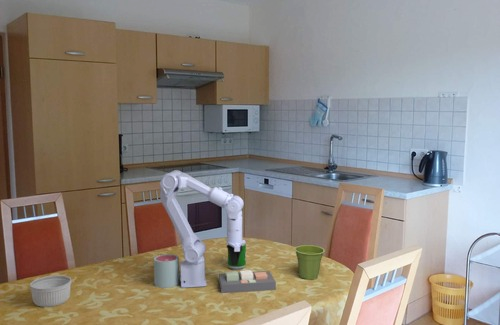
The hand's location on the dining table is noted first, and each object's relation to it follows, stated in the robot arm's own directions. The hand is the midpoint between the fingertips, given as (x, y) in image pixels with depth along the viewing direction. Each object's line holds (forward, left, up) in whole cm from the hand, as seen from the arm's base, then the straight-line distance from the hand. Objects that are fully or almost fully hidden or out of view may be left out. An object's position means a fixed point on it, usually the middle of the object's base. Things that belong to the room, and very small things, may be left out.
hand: (234, 264), depth 172 cm
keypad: (+5, 0, -8) cm, 9 cm away
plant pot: (+31, +5, -9) cm, 32 cm away
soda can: (+4, +20, -9) cm, 22 cm away
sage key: (-1, 0, -7) cm, 7 cm away
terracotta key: (+10, 0, -8) cm, 13 cm away
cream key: (+5, 0, -7) cm, 8 cm away
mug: (-24, +9, -9) cm, 27 cm away
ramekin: (-64, -3, -9) cm, 65 cm away
